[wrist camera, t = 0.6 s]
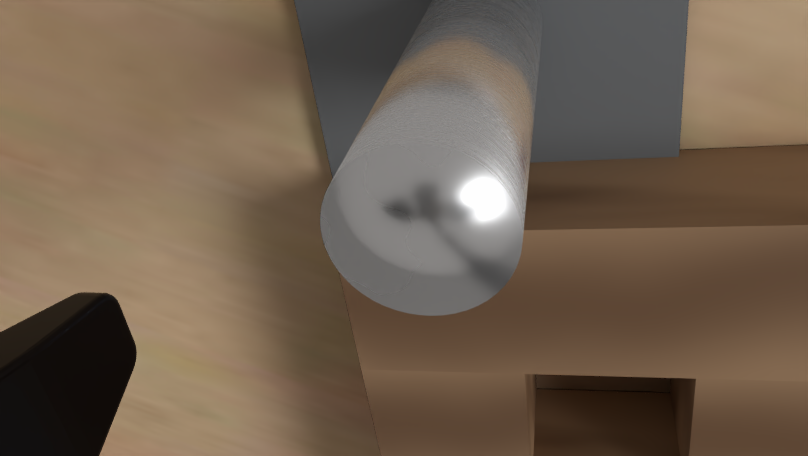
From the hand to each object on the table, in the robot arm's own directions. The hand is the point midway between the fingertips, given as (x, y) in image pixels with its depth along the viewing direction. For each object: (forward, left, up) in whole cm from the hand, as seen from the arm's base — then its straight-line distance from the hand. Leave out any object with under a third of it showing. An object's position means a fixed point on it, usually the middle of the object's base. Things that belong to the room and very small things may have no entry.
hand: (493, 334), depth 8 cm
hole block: (-11, -2, -13) cm, 17 cm away
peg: (0, +1, -13) cm, 13 cm away
